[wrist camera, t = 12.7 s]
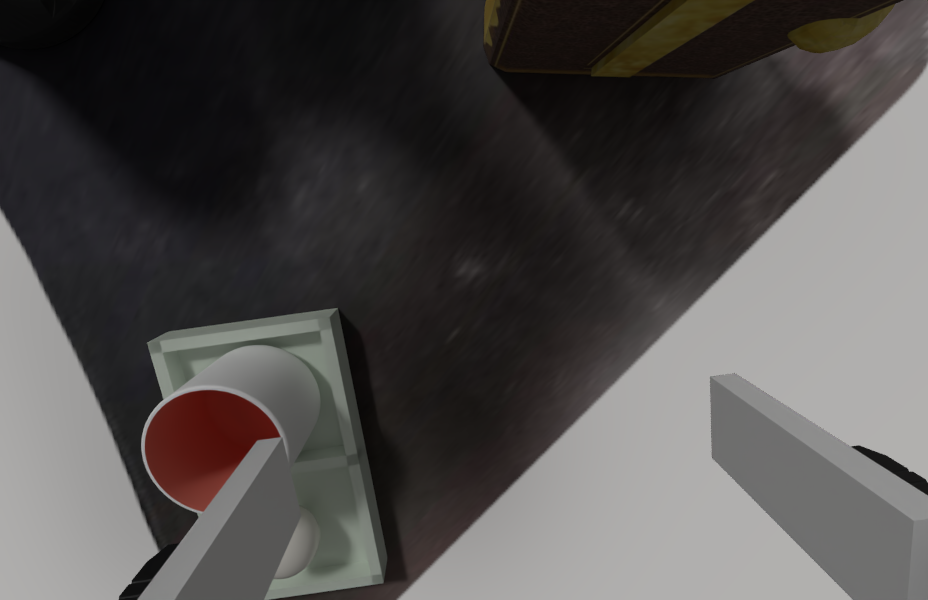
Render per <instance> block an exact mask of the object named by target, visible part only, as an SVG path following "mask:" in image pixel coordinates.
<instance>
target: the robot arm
mask: <svg viewBox="0 0 928 600" xmlns="http://www.w3.org/2000/svg"><path fill="white" fill-rule="evenodd" d="M103 2H104V0H0V46H4V47H9V48H16V49H40V48H46V47H50V46H54V45H57V44H59V43H62V42H64V41H66V40H68V39H70V38H72V37H73V36H75V35H76V34H78V33H79V32H80V31H81V30H83V29H84V28H85V27H86V26H87V25H88V24H89V23H90V22H91V20H92V19H93V18H94V17H95V15H96V14H97V12H98V11H99V9H100V7H101V6H102V4H103ZM710 393H711V438H712V458H713V459H714V460H715V461H716V462H717V463H718V464H719V465H720V466H721V467H722V468H723V469H724V470H725V471H726V472H727V473H728V474H729V475H730V476H731V477H732V478H733V479H734V480H735V481H736V482H737V483H738V484H739V485H740V486H741V487H742V488H743V489H744V490H745V491H746V492H747V493H748V494H749V495H750V496H751V497H752V498H753V499H754V500H755V501H756V502H757V503H758V504H759V506H760V507H761V508H763V510H765V511H766V513H767V514H768V515H770V517H771V518H773V519H774V521H775V522H777V524H778V525H779V526H780V527H781V528H782V529H783V530H784V531H785V532H786V533H787V534H789V536H790V537H791V538H792V539H793V540H794V541H795V542H796V543H797V544H798V545H799V546H800V547H801V548H802V549H803V550H804V551H805V552H806V553H807V554H808V555H809V556H810V557H811V558H812V559H813V560H814V561H815V562H816V563H817V564H818V565H819V566H820V567H821V568H822V569H823V570H824V571H825V572H826V573H827V574H828V575H829V576H830V577H831V578H832V579H833V580H834V581H835V582H836V583H837V584H838V585H839V586H840V587H841V588H842V589H843V590H844V591H845V592H846V593H847V594H848V595H849V596H850V597H851V598H852V599H853V600H928V483H927V481H926V479H924V478H922V477H921V476H919V475H917V474H916V473H914V472H909V471H908V469H907V468H906V467H904V466H902V465H901V464H899V463H897V462H896V461H894V460H892V459H891V458H889V457H888V456H886V455H883V454H880V453H878V452H875V451H872V450H870V449H867V448H864V447H861V446H852V447H850V446H849V445H847V444H846V443H844V442H842V441H841V440H839V439H838V438H836V437H835V436H833V435H832V434H830V433H828V432H827V431H825V430H824V429H822V428H821V427H819V426H817V425H816V424H814V423H812V422H811V421H809V420H808V419H806V418H805V417H803V416H802V415H800V414H798V413H797V412H795V411H794V410H792V409H791V408H789V407H787V406H786V405H784V404H783V403H781V402H780V401H778V400H776V399H775V398H773V397H772V396H770V395H768V394H767V393H765V392H764V391H762V390H760V389H759V388H757V387H756V386H754V385H753V384H751V383H749V382H748V381H746V380H745V379H743V378H742V377H740V376H739V375H737V374H735V373H734V374H726V375H719V376H712V377H710ZM300 518H301V512H300V508H299V504H298V500H297V496H296V492H295V487H294V483H293V479H292V475H291V471H290V467H289V462H288V458H287V454H286V450H285V446H284V442H283V437H278V438H271V439H264V440H257V442H256V443H255V444H254V445H253V447H252V448H251V449H250V451H249V452H248V453H247V455H246V456H245V457H244V459H243V460H242V461H241V463H240V464H239V465H238V467H237V468H236V469H235V471H234V472H233V473H232V475H231V476H230V477H229V479H228V480H227V481H226V483H225V484H224V485H223V487H222V488H221V489H220V491H219V492H218V493H217V495H216V496H215V497H214V499H213V500H212V501H211V503H210V504H209V505H208V507H207V508H206V509H205V511H204V512H203V513H202V514H201V516H200V517H199V518H198V520H197V521H196V522H195V524H194V525H193V526H192V528H191V529H190V530H189V532H188V533H187V534H186V536H185V537H184V538H183V540H182V541H181V542H180V543H178V544H171V545H167V546H166V547H165V548H164V549H162V550H161V551H160V552H159V553H158V554H156V555H155V556H154V557H153V558H151V559H150V560H149V561H148V562H147V563H146V564H145V565H144V566H143V567H142V569H141V570H140V571H139V572H138V574H137V575H136V576H135V578H134V579H133V580H132V584H129V585H128V586H127V587H126V589H125V590H124V591H123V592H122V594H121V595H120V596H119V600H264V599H265V596H266V594H267V592H268V590H269V587H270V585H271V583H272V581H273V578H274V576H275V574H276V572H277V569H278V567H279V565H280V563H281V560H282V558H283V556H284V554H285V551H286V549H287V547H288V545H289V542H290V540H291V538H292V536H293V533H294V531H295V529H296V527H297V524H298V522H299V520H300Z"/></svg>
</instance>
